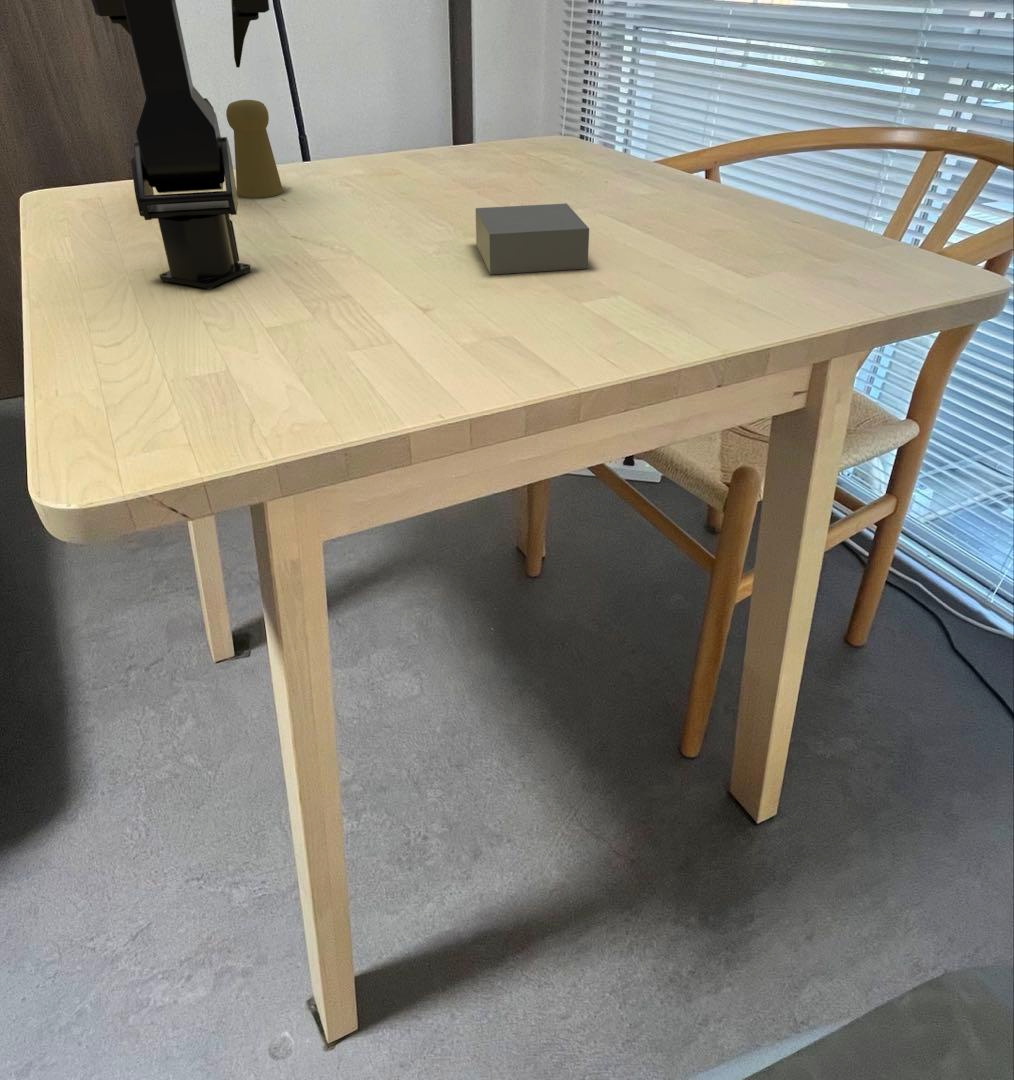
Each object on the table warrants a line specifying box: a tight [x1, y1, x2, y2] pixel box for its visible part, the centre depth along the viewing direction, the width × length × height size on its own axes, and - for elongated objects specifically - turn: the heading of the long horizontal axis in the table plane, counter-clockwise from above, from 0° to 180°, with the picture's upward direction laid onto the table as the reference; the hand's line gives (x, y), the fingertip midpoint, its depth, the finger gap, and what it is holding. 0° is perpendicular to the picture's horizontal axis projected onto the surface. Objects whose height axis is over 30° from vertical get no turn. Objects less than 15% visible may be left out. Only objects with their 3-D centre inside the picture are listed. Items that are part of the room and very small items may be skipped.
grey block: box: [475, 203, 590, 275], centre depth 90 cm, size 10×10×4 cm
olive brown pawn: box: [225, 99, 284, 199], centre depth 112 cm, size 6×6×11 cm
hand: (198, 67), depth 104 cm, fingers open, 9 cm apart
